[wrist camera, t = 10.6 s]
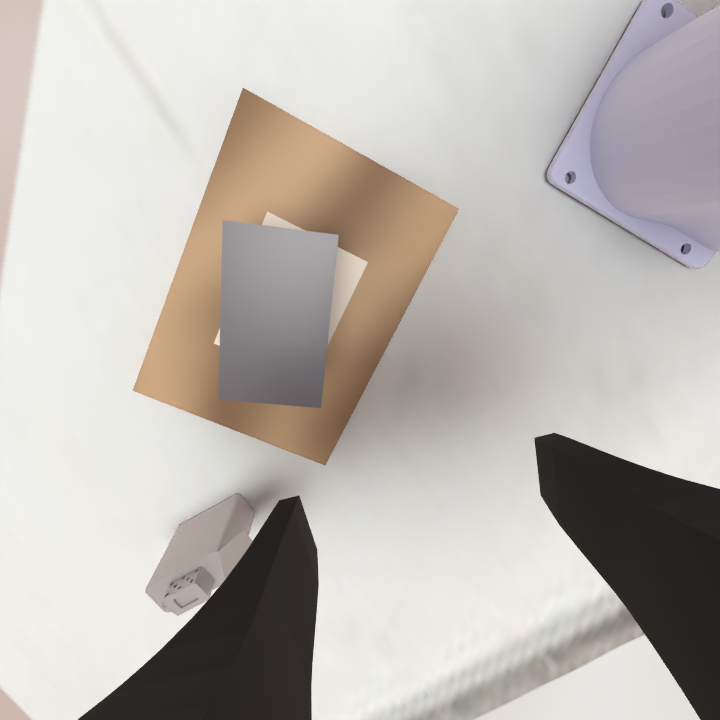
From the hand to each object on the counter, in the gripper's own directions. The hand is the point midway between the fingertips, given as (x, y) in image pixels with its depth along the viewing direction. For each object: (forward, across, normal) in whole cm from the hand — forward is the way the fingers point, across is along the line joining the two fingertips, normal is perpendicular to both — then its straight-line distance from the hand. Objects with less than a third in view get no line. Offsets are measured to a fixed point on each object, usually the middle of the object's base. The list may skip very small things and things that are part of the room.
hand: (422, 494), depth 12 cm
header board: (+9, +3, -5) cm, 11 cm away
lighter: (+10, +9, +5) cm, 14 cm away
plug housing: (+8, +3, -6) cm, 10 cm away
